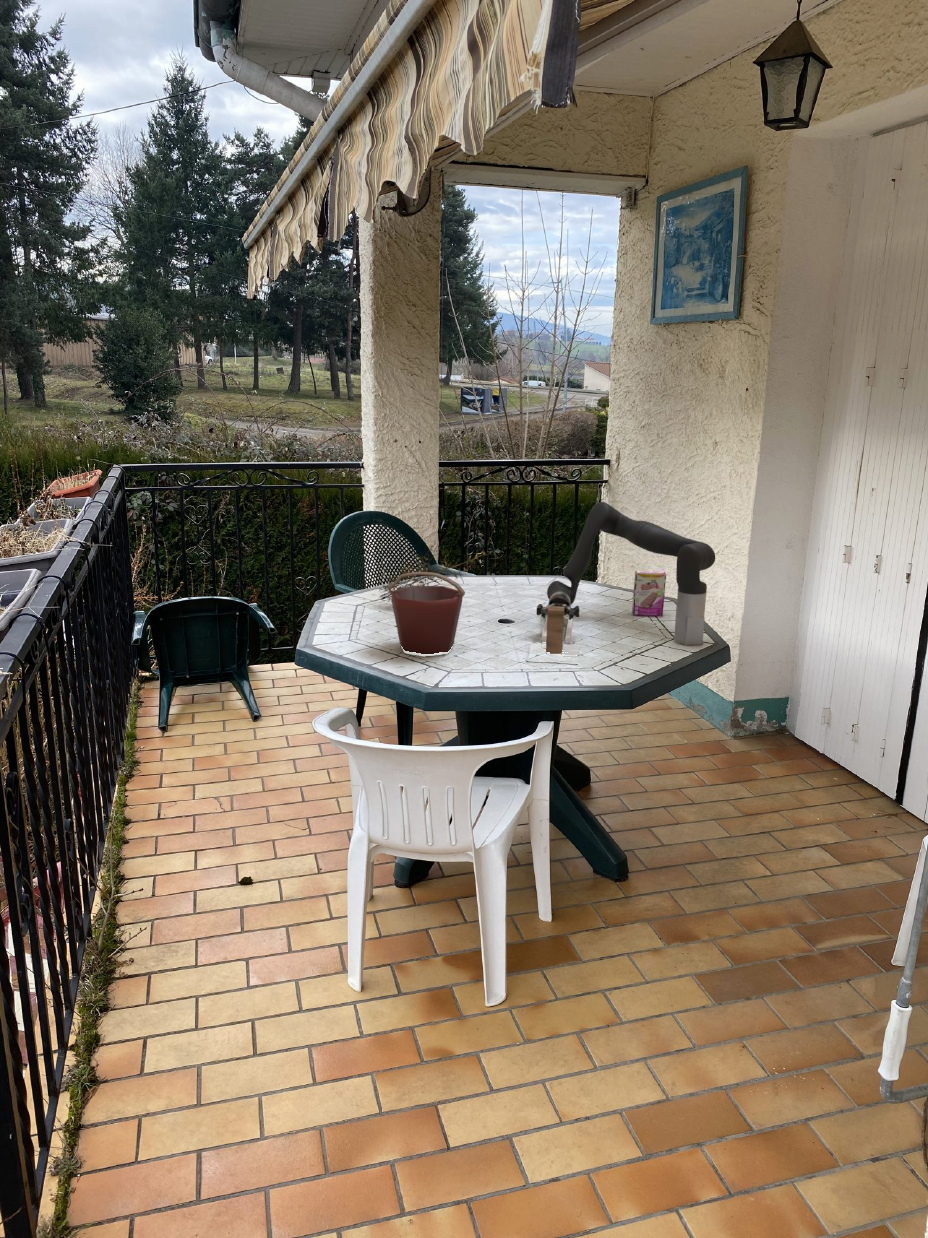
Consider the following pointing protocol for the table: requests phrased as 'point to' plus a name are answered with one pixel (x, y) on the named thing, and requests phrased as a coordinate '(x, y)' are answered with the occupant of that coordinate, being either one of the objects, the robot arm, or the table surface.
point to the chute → (568, 632)
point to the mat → (567, 648)
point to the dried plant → (421, 575)
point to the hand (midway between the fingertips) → (557, 616)
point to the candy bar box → (648, 593)
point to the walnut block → (555, 629)
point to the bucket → (426, 614)
